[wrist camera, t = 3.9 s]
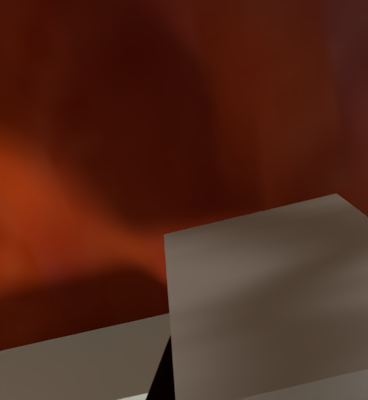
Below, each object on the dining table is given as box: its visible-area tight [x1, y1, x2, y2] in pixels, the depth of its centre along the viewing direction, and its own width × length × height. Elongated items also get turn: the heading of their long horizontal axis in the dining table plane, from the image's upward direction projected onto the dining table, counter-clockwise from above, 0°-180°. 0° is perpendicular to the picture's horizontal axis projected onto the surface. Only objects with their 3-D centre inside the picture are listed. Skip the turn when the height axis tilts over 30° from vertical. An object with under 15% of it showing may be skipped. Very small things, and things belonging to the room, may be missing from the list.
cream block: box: [164, 193, 368, 400], centre depth 8 cm, size 5×5×5 cm
